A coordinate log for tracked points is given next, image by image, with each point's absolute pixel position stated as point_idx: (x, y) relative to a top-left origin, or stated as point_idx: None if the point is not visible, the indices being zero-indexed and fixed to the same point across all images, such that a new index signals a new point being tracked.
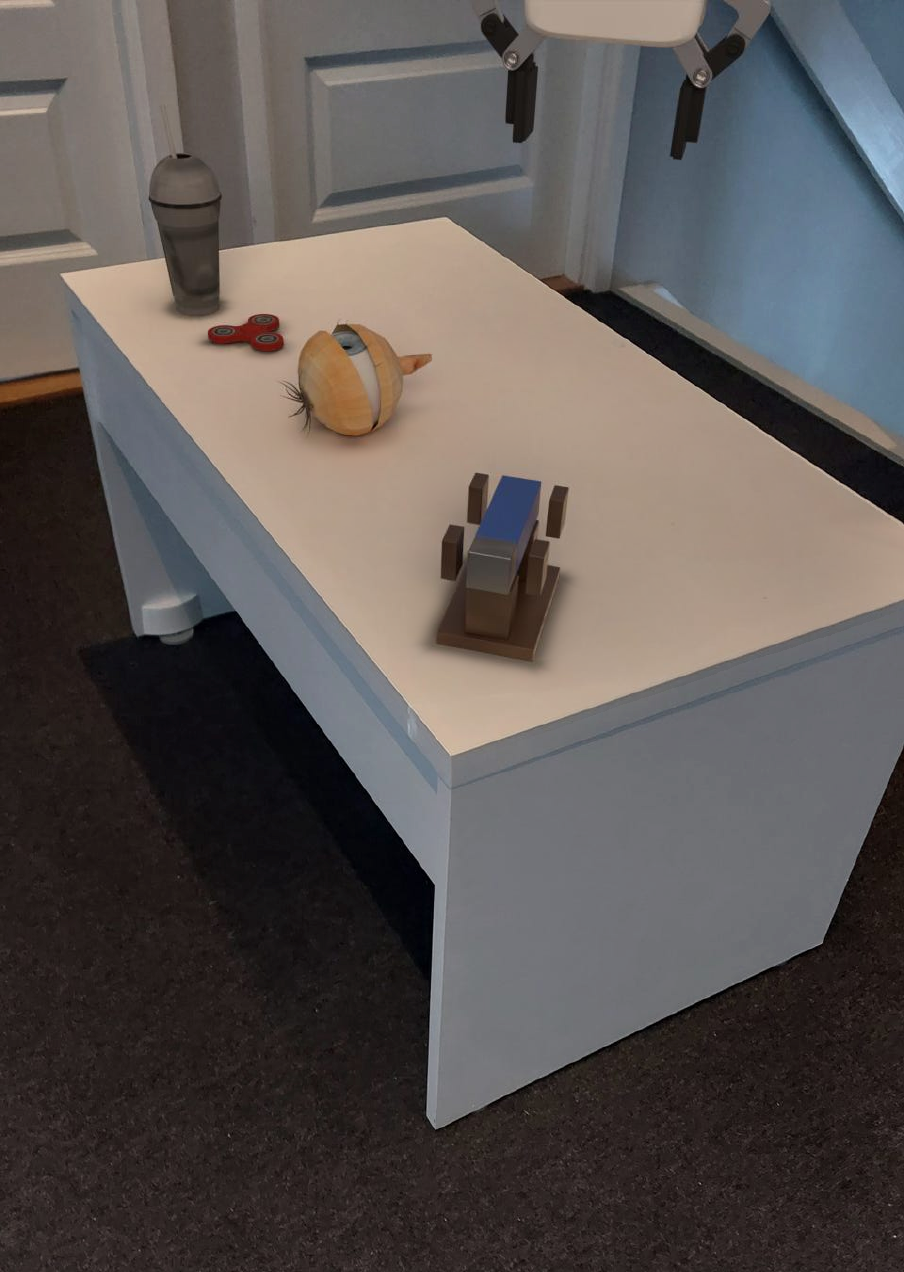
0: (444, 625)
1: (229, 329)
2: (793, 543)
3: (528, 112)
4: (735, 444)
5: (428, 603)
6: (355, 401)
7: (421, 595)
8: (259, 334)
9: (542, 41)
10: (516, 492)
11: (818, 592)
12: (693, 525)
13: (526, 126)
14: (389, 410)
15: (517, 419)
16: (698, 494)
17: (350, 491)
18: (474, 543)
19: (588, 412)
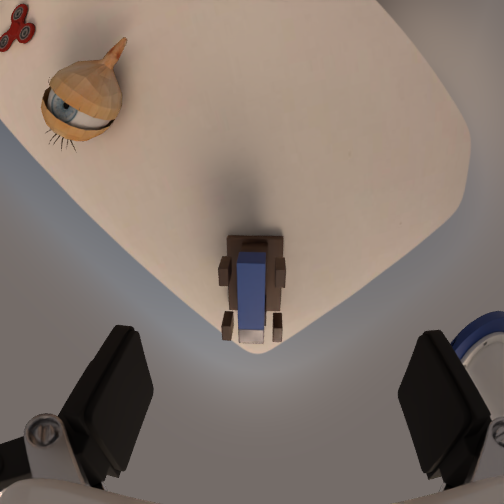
0: (231, 304)
1: (5, 37)
2: (421, 161)
3: (137, 408)
4: (384, 35)
5: (215, 277)
6: (96, 135)
7: (209, 271)
8: (20, 31)
9: (87, 480)
10: (251, 281)
11: (428, 210)
12: (363, 152)
13: (145, 398)
14: (119, 108)
15: (212, 36)
16: (364, 110)
17: (130, 180)
18: (240, 336)
19: (266, 8)
